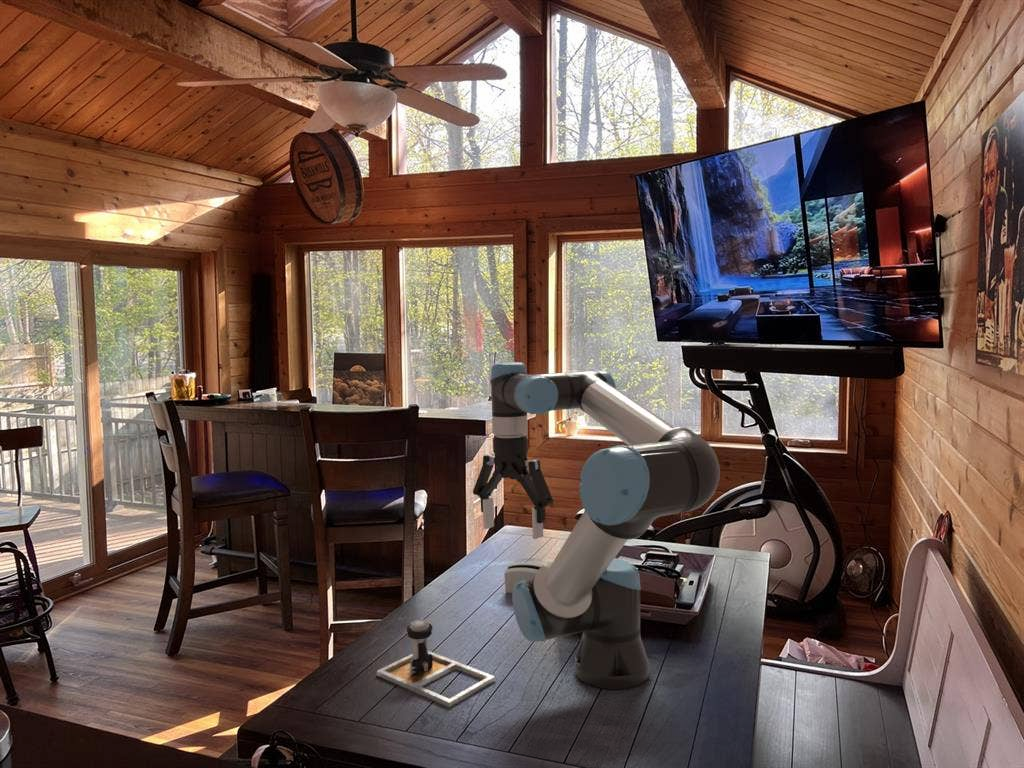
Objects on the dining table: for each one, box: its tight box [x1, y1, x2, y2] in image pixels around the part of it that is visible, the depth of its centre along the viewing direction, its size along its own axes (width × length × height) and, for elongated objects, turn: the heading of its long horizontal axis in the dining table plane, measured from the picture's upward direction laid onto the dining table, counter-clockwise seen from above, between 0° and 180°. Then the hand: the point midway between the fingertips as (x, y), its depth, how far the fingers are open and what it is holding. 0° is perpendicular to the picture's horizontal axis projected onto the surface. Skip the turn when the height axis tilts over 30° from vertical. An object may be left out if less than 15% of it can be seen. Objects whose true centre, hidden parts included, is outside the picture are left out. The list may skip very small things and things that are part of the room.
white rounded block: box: [503, 562, 544, 594], centre depth 200 cm, size 17×5×10 cm, turn 64°
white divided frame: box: [376, 650, 496, 708], centre depth 156 cm, size 21×13×1 cm, turn 50°
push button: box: [406, 619, 434, 675], centre depth 159 cm, size 7×5×10 cm
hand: (512, 532), depth 165 cm, fingers open, 13 cm apart
